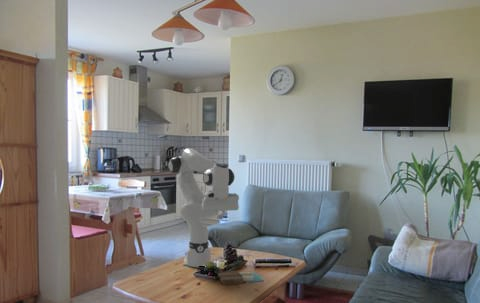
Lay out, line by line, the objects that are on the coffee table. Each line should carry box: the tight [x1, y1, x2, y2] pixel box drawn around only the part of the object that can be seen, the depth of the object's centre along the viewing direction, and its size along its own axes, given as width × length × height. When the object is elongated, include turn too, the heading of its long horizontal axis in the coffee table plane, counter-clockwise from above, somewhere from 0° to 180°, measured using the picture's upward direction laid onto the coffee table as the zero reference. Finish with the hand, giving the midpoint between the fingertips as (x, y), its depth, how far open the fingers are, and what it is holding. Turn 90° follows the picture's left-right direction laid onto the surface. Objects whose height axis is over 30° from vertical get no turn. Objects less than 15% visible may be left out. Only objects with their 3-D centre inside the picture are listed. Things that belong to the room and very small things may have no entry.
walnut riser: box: [219, 270, 244, 286], centre depth 209 cm, size 14×11×2 cm
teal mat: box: [244, 272, 264, 283], centre depth 213 cm, size 12×10×1 cm
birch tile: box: [238, 271, 254, 282], centre depth 211 cm, size 9×6×2 cm, turn 15°
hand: (220, 218), depth 207 cm, fingers closed
